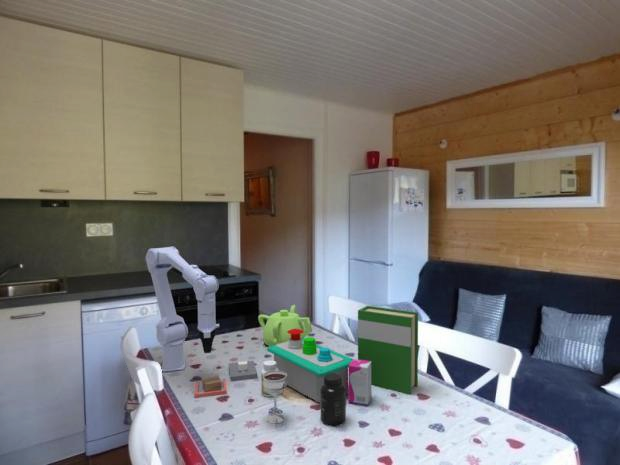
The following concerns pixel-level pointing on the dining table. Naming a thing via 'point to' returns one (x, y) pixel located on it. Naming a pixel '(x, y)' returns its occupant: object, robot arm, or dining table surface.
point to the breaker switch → (242, 366)
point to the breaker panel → (244, 374)
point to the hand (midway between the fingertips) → (207, 352)
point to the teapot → (283, 326)
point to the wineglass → (274, 390)
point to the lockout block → (211, 383)
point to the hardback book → (389, 347)
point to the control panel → (308, 364)
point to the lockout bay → (211, 391)
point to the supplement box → (360, 382)
